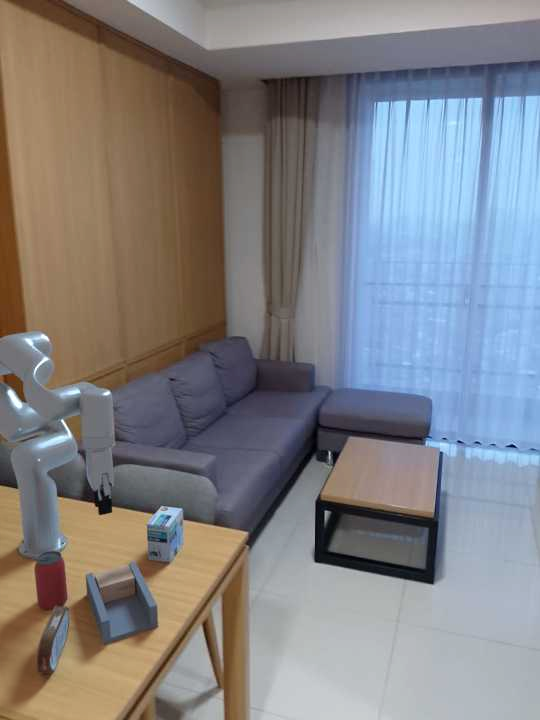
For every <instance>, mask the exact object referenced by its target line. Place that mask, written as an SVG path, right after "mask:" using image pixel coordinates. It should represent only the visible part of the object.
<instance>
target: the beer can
mask: <svg viewBox="0 0 540 720" xmlns="http://www.w3.org/2000/svg"><path fill="white" fill-rule="evenodd" d="M65 565H66V564H65V560H64V558H63V556H62V553H61V552H60V551H59V552H57V551H48V552H45V553H42V554H41V555H39V556H38V557H37V558H36V559H35V565H34V570H33V571H34V580H35V587H36V597H37V605H38V606H39V608H41V609H42V610H44V611H45V610H46V611H50V610H51V611H53V609H54V607H55V606H63V605H65V603H66V602H67V600H68V588H67V577H66V576H67V575H66V566H65Z"/></svg>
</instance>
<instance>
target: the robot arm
mask: <svg viewBox="0 0 540 720" xmlns="http://www.w3.org/2000/svg"><path fill="white" fill-rule="evenodd" d="M52 352H53V345H52V342H51V340H50V339H49V337H48V336H47V335H46V334H45V333H43V332H41V331H37V330H36V331H35V330H34V331H33V330H32V331H27V332H19V333H13V334H10V335H9V334H7V335H5V336H2V337H0V376H5V375H10V374H13V375H14V376H16V377H17V378H18V379H20V380H21V381H22V382H23V383H22V390H23V395H24V399H25V400H26V402H23V401H22V400H21V399H20V398H19V396H18V395H17V393H16V390H14V389H13V388H12V387H11V386H9V385H8V384H7V383H5V382H4V381H1V380H0V435H1V436H2V437H3V439H5V440H6V441H7V442H12V443H15V442H20V441H23V440H25V441H23V442H21V443H19V444H18V445H16V446H15V447H14V448H13V449H12V451H11V455H10V462H11V466H12V468H13V472H14V475H15V478H16V484H17V488H18V490H17V491H18V498H19V506H20V508H19V509H20V516H21V524H22V525H21V526H22V537H23V540H22V541H21V542H20V543H19V544H18V553H19V555H20V556H22V557H24V558H27V559H35V560H36V558H37V557H38V556H39V555H41V554H42V553H45V552H48V551H57V552H59V553H60V552H61V551H62V550H63V549H64V548H65V547H66V546H67V543H68V538H67V536H66V534H64V533H63V532H61V526H60V514H59V504H58V503H59V501H58V493H57V492H58V491H57V485H56V482H55V481H54V479H53V478H51V477H50V476H49V475H48V472H49V471H51V470H53V469H56V468H57V467H60V466H62V465H65V464H67V463H69V462H71V461H73V460H74V459H75V458H76V456H77V454H78V451H79V450H78V443H77V441H76V438H75V435H73V433H72V430H70V428H69V426H68V425H67V423H66V422H65V420H66V419H70V418H73V417H75V416H79V415H80V427H81V441H82V449H83V450H84V451H85V461H86V462H85V463H86V464H85V465H86V478H87V482H88V483H89V485H90V487H91V489H92V491H93V496H94V497H93V498H94V499H93V502H94V507H96V508H97V509H98V511H97V512H98V515H99V516H103V515H107V514H112V513H113V503H112V493H111V492H112V491H111V489H112V488H113V487H114V486H115V478H114V477H115V476H114V465H113V464H114V463H113V453H112V448H113V447H115V446H116V433H115V417H114V405H113V404H114V402H113V401H114V400H113V399H114V398H113V394H112V392H111V391H110V390H109V389H107V388H103V387H98V386H95V385H94V384H92V383H91V382H87V381H80V382H77V383H74V384H68V385H65V386H61V387H58V388H57V387H56V388H55V389H48V388H46V387H45V386H44V385H45V384H47V382H48V381H50V380H51V378H52V376H53V373H54V370H55V365H54V361H53V360H52V358H50V357H51V355H52ZM38 435H40V436H38ZM34 436H35V437H34ZM36 436H37V437H36ZM32 437H34V438H32ZM28 438H31V439H28ZM26 439H28V440H26Z"/></svg>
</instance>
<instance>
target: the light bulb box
mask: <svg viewBox="0 0 540 720" xmlns="http://www.w3.org/2000/svg"><path fill="white" fill-rule="evenodd" d="M184 531H185V530H184V509H183V508H181V507H180V508H178V507H172V506H171V507H170V506H163V505H162V506H161V505H160V508H158V510H156V512H155V513H154V514H153V516H152V517H150V520H149V521H147V523H146V535H147V536H146V537H147V538H146V539H147V559H148V561H155V562H162V563H163V562H164V563H172V561H173V560H174V559H175V557H176V556H177V554H178V553H179V551H180V550H181V549H182V547H183V545H184V544H185V539H184V538H185V537H184V533H185V532H184Z"/></svg>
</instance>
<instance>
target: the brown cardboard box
mask: <svg viewBox="0 0 540 720" xmlns="http://www.w3.org/2000/svg"><path fill="white" fill-rule="evenodd" d="M93 576H94V579H95V581H96V584H97V587H98V590H99V592H100V595H101V598H102V601H103V603H108V602H111V601H115V600H118V599H121V598H125V597H128V596H132V595H135V578H134V575H133V573H132V571H131V569H130V567H129V564H127V565H123V566H118V567H115V568H111V569H108V570H104V571H99V572H95V573H94V574H93Z"/></svg>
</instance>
